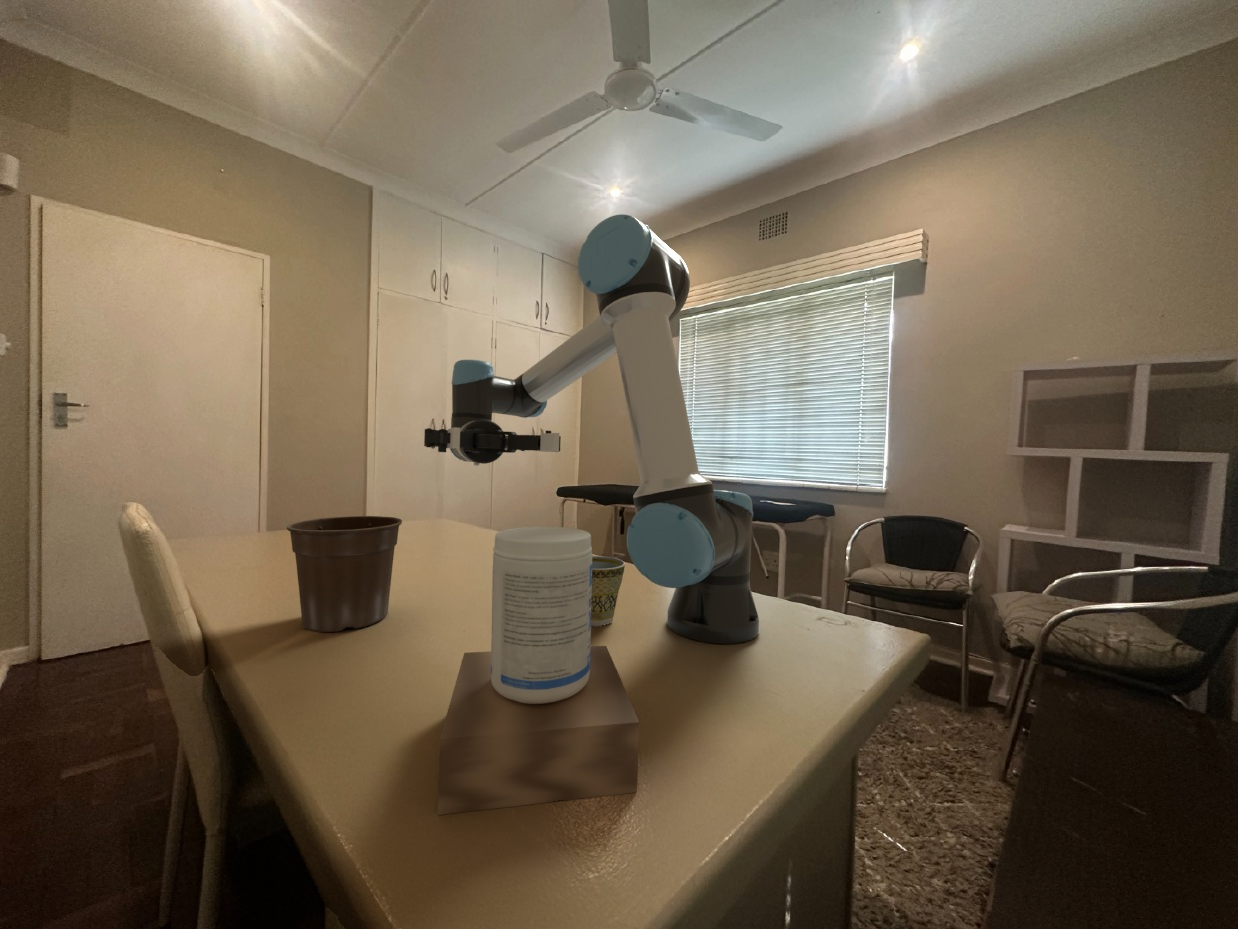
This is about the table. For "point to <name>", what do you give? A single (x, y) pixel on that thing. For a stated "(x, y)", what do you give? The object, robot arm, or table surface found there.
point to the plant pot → (344, 570)
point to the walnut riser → (536, 742)
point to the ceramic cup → (605, 588)
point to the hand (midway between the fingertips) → (509, 440)
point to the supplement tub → (541, 613)
